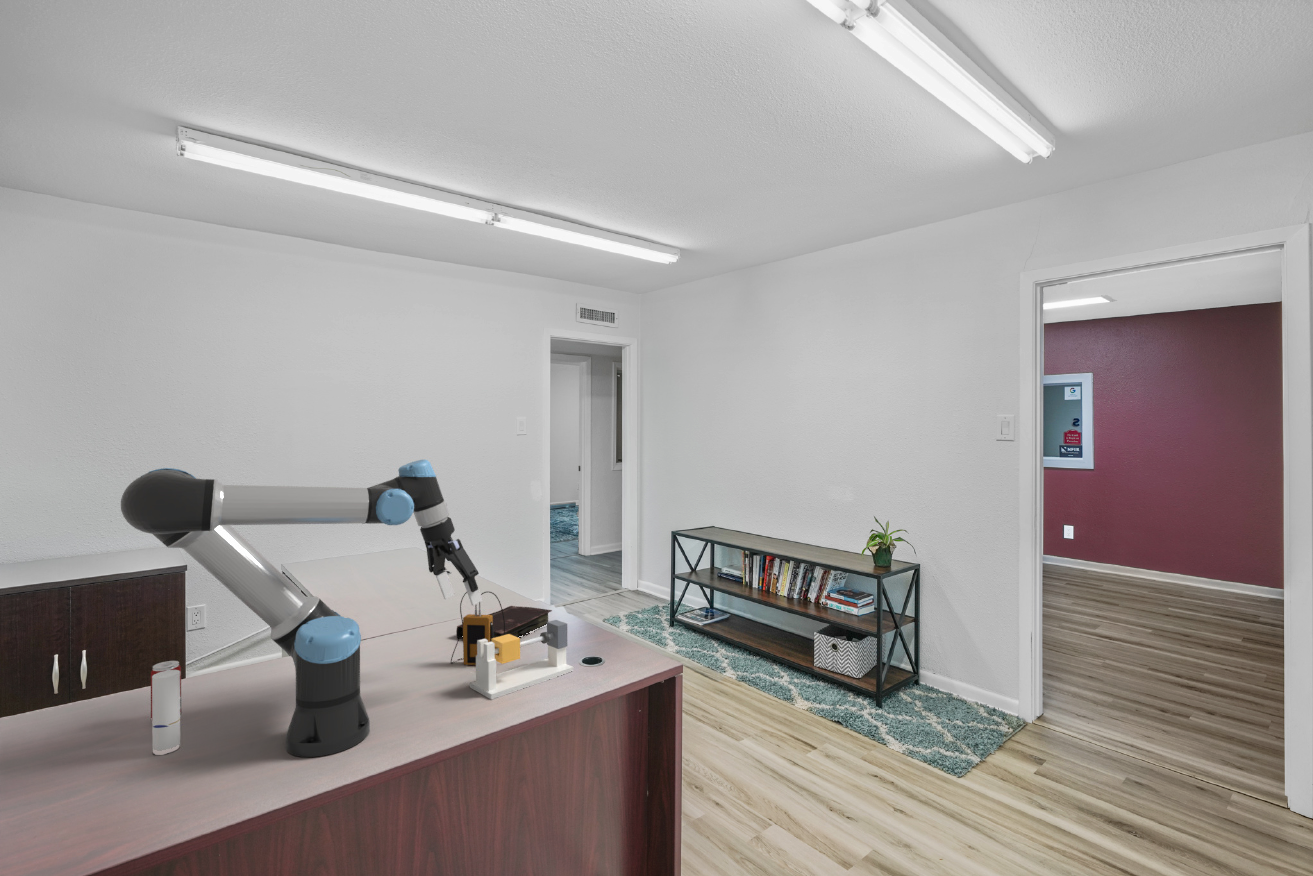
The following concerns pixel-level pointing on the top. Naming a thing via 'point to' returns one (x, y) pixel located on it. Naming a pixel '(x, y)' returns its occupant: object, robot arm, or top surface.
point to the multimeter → (475, 632)
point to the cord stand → (524, 675)
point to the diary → (516, 621)
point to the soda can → (165, 667)
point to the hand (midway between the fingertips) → (463, 599)
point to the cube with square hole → (507, 648)
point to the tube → (166, 709)
